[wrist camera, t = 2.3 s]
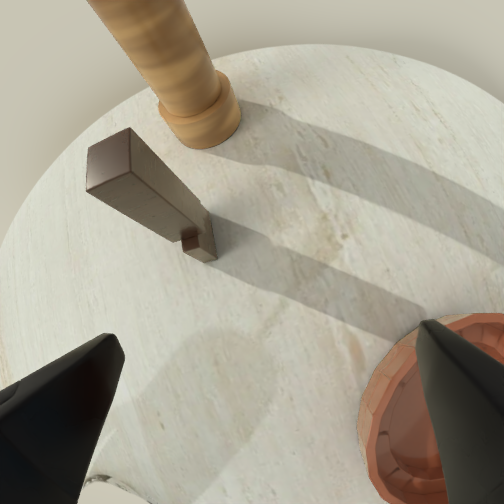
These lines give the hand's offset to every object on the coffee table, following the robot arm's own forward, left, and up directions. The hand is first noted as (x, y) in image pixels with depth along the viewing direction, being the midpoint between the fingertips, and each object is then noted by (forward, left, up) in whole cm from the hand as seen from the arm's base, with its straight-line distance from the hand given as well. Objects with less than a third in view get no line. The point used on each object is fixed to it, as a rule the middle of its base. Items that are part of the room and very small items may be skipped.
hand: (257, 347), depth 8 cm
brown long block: (+1, +10, -14) cm, 17 cm away
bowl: (+3, -13, -14) cm, 19 cm away
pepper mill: (+9, +18, -14) cm, 24 cm away
